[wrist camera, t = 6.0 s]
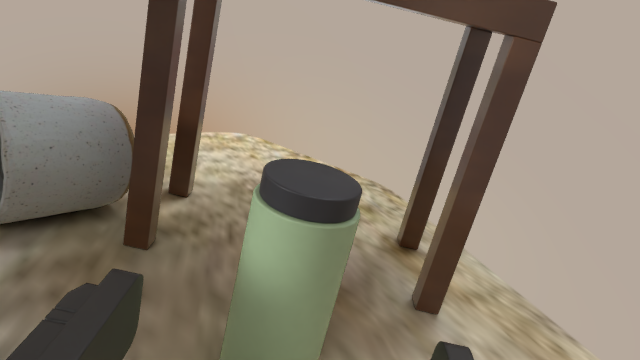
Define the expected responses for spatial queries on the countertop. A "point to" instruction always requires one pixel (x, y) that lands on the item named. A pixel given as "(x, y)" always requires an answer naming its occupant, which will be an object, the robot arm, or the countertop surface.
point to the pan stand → (476, 162)
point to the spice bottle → (291, 261)
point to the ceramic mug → (60, 155)
